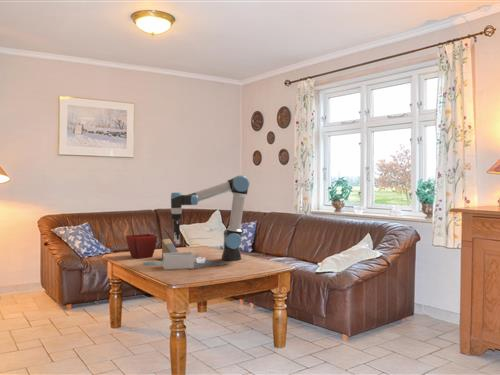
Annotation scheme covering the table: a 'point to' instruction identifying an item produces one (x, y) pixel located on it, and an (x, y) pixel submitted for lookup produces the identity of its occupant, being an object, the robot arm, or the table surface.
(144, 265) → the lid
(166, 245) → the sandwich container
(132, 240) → the plant pot
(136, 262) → the table surface
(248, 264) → the table surface
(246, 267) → the table surface
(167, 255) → the tub
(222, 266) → the table surface
